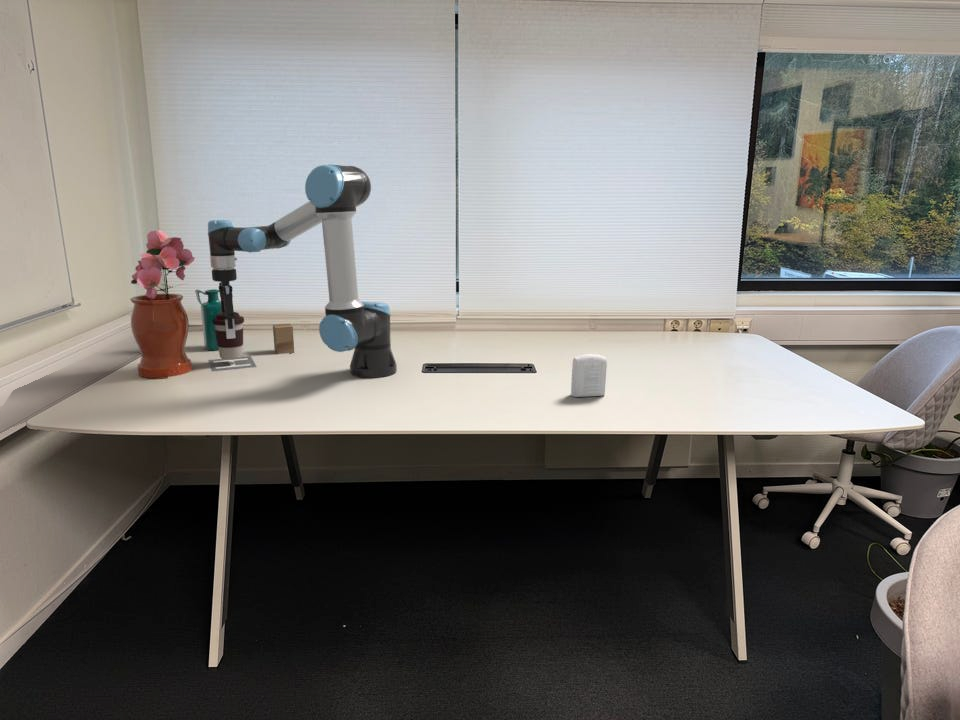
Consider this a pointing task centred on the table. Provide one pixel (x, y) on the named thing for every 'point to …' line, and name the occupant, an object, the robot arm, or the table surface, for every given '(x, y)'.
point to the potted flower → (161, 309)
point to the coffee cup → (229, 346)
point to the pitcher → (209, 317)
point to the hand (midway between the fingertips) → (229, 335)
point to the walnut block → (283, 338)
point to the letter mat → (231, 363)
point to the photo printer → (588, 375)
